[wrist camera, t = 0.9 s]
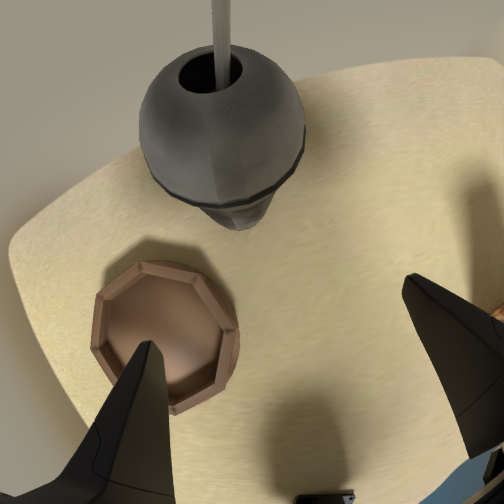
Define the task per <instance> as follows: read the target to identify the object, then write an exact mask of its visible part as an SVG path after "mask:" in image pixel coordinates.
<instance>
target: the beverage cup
mask: <svg viewBox="0 0 504 504" xmlns="http://www.w3.org/2000/svg"><path fill="white" fill-rule="evenodd" d="M211 1H212V22H213V44H214V45H210V46H205V47H200V48H197V49H194V50H192V51H189V52H187V53H184V54H182V55H181V56H180V57H178V58H176V59H175V60H174V61H172V62H171V63H170V64H168V65H167V66H165V67H164V68H163V69H162V70H161V72H160V73H159V74H158V75H157V76H156V78H155V79H154V80H153V82H152V83H151V84H150V86H149V88H148V90H147V92H146V95H145V97H144V100H143V103H142V105H141V109H140V112H139V141H140V144H141V148H142V150H143V153H144V156H145V160H146V162H147V164H148V167H149V169H150V171H151V174H152V176H153V178H154V180H155V181H156V182H157V183H158V184H159V185H160V186H161V187H162V188H163V189H164V190H165V191H166V192H167V193H168V194H169V195H170V196H172V197H175V198H177V199H179V200H181V201H183V202H185V203H188V204H190V205H192V206H196V207H199V208H200V209H201V210H202V211H204V212H205V213H206V214H207V215H208V216H210V217H211V218H212V219H213V220H215V221H216V222H217V223H218V224H220V225H222V226H224V227H226V228H228V229H230V230H238V231H240V230H245V229H249V228H251V227H252V226H254V225H256V224H257V223H258V222H259V221H260V220H261V219H262V217H263V216H264V214H265V212H266V210H267V208H268V206H269V204H270V202H271V200H272V198H273V196H274V194H275V192H276V190H277V189H278V188H279V187H280V186H281V185H282V184H283V183H284V182H285V181H286V180H287V179H288V178H289V177H290V176H291V175H292V174H293V173H294V172H295V170H296V167H297V165H298V163H299V161H300V159H301V157H302V155H303V153H304V148H305V134H306V128H305V124H304V118H305V117H304V110H303V107H302V104H301V101H300V98H299V95H298V92H297V90H296V88H295V85H294V83H293V82H292V81H291V80H290V78H289V77H288V76H287V75H286V74H285V73H284V71H283V70H282V69H281V68H280V67H279V66H278V65H277V64H276V63H275V62H274V61H272V60H271V59H269V58H267V57H265V56H264V55H262V54H260V53H258V52H256V51H255V50H252V49H248V48H243V47H240V46H235V45H230V0H211Z"/></svg>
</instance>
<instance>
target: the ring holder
mask: <svg viewBox="0 0 504 504" xmlns="http://www.w3.org/2000/svg"><path fill="white" fill-rule="evenodd" d="M146 340H152V341H154V343H155V344H156V345H157V347H158V348H159V349H160V351H161V352H162V354H163V357H164V365H165V374H166V382H167V390H168V402H169V414H171V415H175V416H176V415H178V414H180V413H182V412H184V411H186V410H188V409H190V408H192V407H194V406H196V405H198V404H200V403H203V402H205V401H207V400H208V399H210V398H212V397H213V396H215V395H216V394H218V393H220V392H221V391H223V390H225V386H226V383H227V382H228V380H229V379H230V377H231V375H232V373H233V371H234V369H235V366H236V363H237V359H238V355H239V348H240V334H239V327H238V323H237V319H236V316H235V313H234V311H233V309H232V306H231V304H230V303H229V301H228V299H227V298H226V296H225V295H224V294H223V292H222V291H221V290H220V288H219V287H218V286H217V285H216V284H215V283H214V282H213V281H212V280H210V279H209V278H208V277H206V276H205V275H204V274H202V273H201V272H199V271H197V270H195V269H193V268H191V267H188V266H186V265H183V264H179V263H175V262H169V261H153V262H142V261H138V262H137V263H136V264H134V265H133V266H132V267H130V268H129V269H128V270H126V271H125V272H124V273H122V274H121V275H120V276H118V277H117V278H116V279H115V280H113V281H112V282H111V283H109V284H108V285H107V286H106V287H104V288H103V289H102V290H101V291H99V292H98V293H97V294H96V299H95V307H94V315H93V324H92V334H91V346H90V350H91V351H92V353H93V355H94V356H95V358H96V360H97V361H98V363H99V365H100V366H101V368H102V369H103V371H104V373H105V374H106V376H107V377H108V379H109V380H110V382H111V383H112V385H113V386H114V385H115V383H116V382H117V380H118V378H119V376H120V375H121V373H122V371H123V370H124V368H125V366H126V365H127V363H128V361H129V360H130V358H131V356H132V355H133V353H134V352H135V350H136V348H137V347H138V345H139V344H140V342H142V341H146Z"/></svg>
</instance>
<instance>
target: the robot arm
mask: <svg viewBox="0 0 504 504" xmlns="http://www.w3.org/2000/svg"><path fill="white" fill-rule="evenodd" d="M402 298H403V300H404V303H405V305H406V307H407V310H408V312H409V314H410V317H411V319H412V322H413V324H414V327H415V329H416V332H417V334H418V336H419V338H420V340H421V342H422V344H423V346H424V348H425V350H426V352H427V354H428V356H429V358H430V360H431V362H432V364H433V366H434V368H435V371H436V373H437V375H438V377H439V379H440V382H441V384H442V386H443V388H444V391H445V393H446V396H447V398H448V400H449V403H450V405H451V408H452V410H453V413H454V415H455V418H456V421H457V424H458V426H459V429H460V432H461V435H462V438H463V441H464V444H465V447H466V450H467V453H468V456H469V458H470V459H472V458H474V457H476V456H478V455H480V454H482V453H484V452H486V451H488V450H490V449H492V448H494V447H495V446H497V445H499V444H500V446H499V447H498V448H496V449H495V450H494V451H493V452H492V453H491V456H490V459H489V462H488V465H487V468H486V471H485V474H484V476H483V480H484V483H485V487H483V488H482V489H481V490H479V491H478V492H477V493H475V494H474V495H473V496H471V497H470V498H468V499H467V500H466V501H464V502H463V503H461V504H504V323H503V322H501V321H500V320H498V319H496V318H495V317H493V316H491V315H490V314H488V313H486V312H485V311H483V310H481V309H480V308H478V307H476V306H475V305H473V304H471V303H470V302H468V301H466V300H464V299H463V298H461V297H459V296H457V295H456V294H454V293H452V292H450V291H449V290H447V289H445V288H443V287H441V286H440V285H438V284H436V283H434V282H432V281H430V280H429V279H427V278H425V277H423V276H421V275H419V274H417V273H413V274H410V275H407V276H406V277H405V280H404V284H403V288H402ZM174 496H175V494H174V485H173V475H172V463H171V449H170V431H169V402H168V390H167V382H166V374H165V365H164V357H163V354H162V352H161V351H160V349H159V348H158V347H157V345H156V344H155V343H154V341H152V340H146V341H142V342H140V344H139V345H138V347H137V348H136V350H135V352H134V353H133V355H132V356H131V358H130V360H129V361H128V363H127V365H126V366H125V368H124V370H123V371H122V373H121V375H120V376H119V378H118V380H117V382H116V383H115V385H114V387H113V388H112V390H111V392H110V393H109V395H108V397H107V399H106V400H105V402H104V404H103V406H102V407H101V409H100V411H99V413H98V415H97V416H96V418H95V422H93V423H92V425H91V427H90V429H89V431H88V433H87V434H86V436H85V438H84V439H83V441H82V442H81V444H80V446H79V447H78V449H77V450H76V452H75V453H74V455H73V456H72V458H71V459H70V461H69V462H68V464H67V465H66V467H65V468H64V470H63V471H62V473H61V474H60V475H59V476H58V477H57V478H56V479H55V480H53V481H52V482H50V483H48V484H45V485H43V486H41V487H39V488H37V489H34V490H32V491H29V492H27V493H25V494H22V495H20V496H17V497H13V496H10V495H8V494H5V493H2V492H0V504H176V501H175V497H174ZM350 497H351V498H350ZM300 499H301V500H300ZM354 499H355V495H354V494H338V495H300V496H298V497H296V499H295V502H294V504H352V503H353V501H354Z"/></svg>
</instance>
